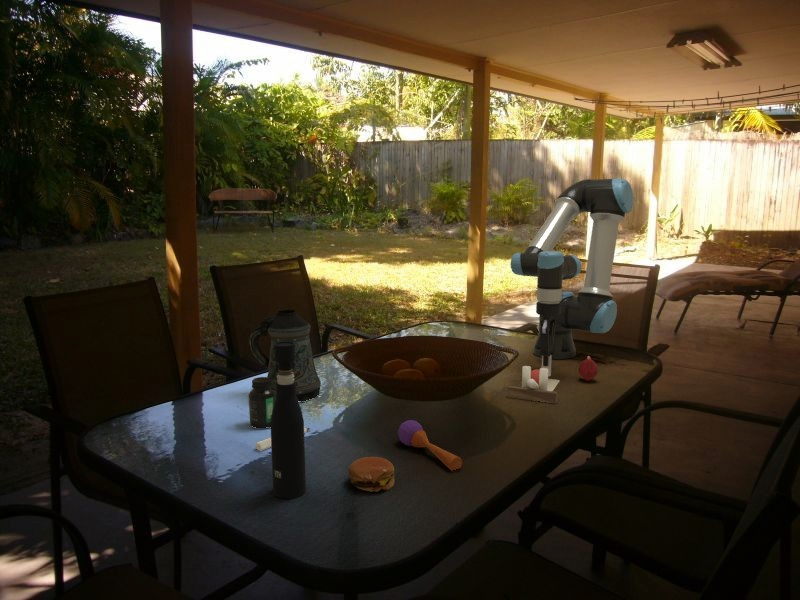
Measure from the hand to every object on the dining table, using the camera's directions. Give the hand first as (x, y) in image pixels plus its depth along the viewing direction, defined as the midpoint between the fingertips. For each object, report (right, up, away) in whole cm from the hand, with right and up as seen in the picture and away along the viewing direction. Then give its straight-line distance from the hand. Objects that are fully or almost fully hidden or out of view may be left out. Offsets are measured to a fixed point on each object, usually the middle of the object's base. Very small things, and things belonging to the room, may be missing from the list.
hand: (546, 375), depth 191 cm
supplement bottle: (-81, -8, -36) cm, 89 cm away
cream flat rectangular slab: (-2, -3, -4) cm, 5 cm away
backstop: (-8, -5, -17) cm, 20 cm away
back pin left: (-5, -4, -15) cm, 17 cm away
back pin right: (-9, -4, -13) cm, 17 cm away
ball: (-5, 0, -8) cm, 9 cm away
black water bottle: (-68, -14, -71) cm, 99 cm away
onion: (+13, -2, 0) cm, 13 cm away
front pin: (-5, -3, -11) cm, 13 cm away
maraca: (-40, -12, -54) cm, 68 cm away
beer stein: (-79, -4, -13) cm, 80 cm away
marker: (-74, -10, -46) cm, 87 cm away
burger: (-52, -14, -67) cm, 86 cm away
